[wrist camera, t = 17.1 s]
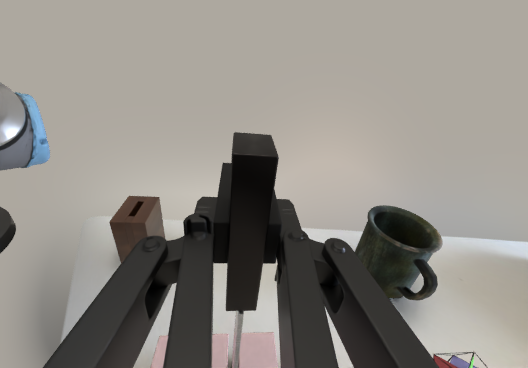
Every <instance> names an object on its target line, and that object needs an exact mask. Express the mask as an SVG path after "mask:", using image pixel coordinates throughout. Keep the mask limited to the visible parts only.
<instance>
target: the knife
mask: <svg viewBox="0 0 528 368" xmlns="http://www.w3.org/2000/svg"><path fill="white" fill-rule="evenodd" d="M278 159H279V158H278V154H277V151H276V148H275V145H274V142H273V139H272V137H271V135H263V134H250V133H249V134H248V133H234V136H233V148H232V164H231V189H230V214H229V239H228V264H227V289H226V311H236V316H235V329H234V342H233V355H232V368H238V362H239V352H240V343H241V333H242V324H243V314H244V313H243V311H252V310H256V307H257V300H258V293H259V287H260V280H261V273H262V266H263V260H264V253H265V246H266V240H267V233H268V226H269V219H270V213H271V206H272V199H273V192H274V186H275V179H276V172H277V165H278Z"/></svg>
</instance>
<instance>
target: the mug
mask: <svg viewBox="0 0 528 368" xmlns="http://www.w3.org/2000/svg"><path fill="white" fill-rule="evenodd" d="M441 247H442V238H441V236H440V234H439V233H438V231H437V230H436V229H435V228H434V227H433V226H432V225H431V224H430V223H428V222H427V221H426V220H424V219H423V218H421V217H419V216H418V215H416V214H414V213H412V212H409V211H407V210H404V209H401V208H398V207H393V206H376V207H373V208H372V209H371V210H370V211H369V212H368V222H367V224H366V227H365V229H364V231H363V234H362V236H361V239H360V241H359V243H358V246H357V248H356V251H355V254H356V255H357V257H358V258H359V259H360V261H361V262H362V263H363V265H364V266H365V267H366V269H367V270H368V271H369V273H370V274H371V275H372V277H373V278H374V280H375V281H376V282H377V284H378V285H379V286H380V288H381V289H382V290H383V292H384V293H385V294H386V296H387V297H388V298H399V297H402V296H404V297H406V298H407V299H410V300H422V299H425V298H428V297H430V296H431V295H432V294H433V293H434V292H435V290H436V288H437V285H438V284H437V276H436V275H435V273H434V271H433V270H432V268H431V267H430V266H429V265H428V263H427V262H428V260H429V259H430V257H431V255H432V254H433V253H434V252H436V251H438V250H440V248H441ZM420 272H421V274H422V276H423V278H424V286H423V287H422V289H421V290H420V291H419V292H418V293H414V292H412V291H411V290H410V288H411V286H412V285H413V283H414V281H415V280H416V278H417V277H418V275H419V274H420Z"/></svg>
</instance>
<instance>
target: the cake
mask: <svg viewBox="0 0 528 368" xmlns="http://www.w3.org/2000/svg"><path fill="white" fill-rule="evenodd" d="M228 337H229V334H212V368H227V360H228ZM167 340H168V336H159V339H158V343H157V347H156V350H155V354H154V357H153V361H152V364H151V368H163V364H164V358H165V352H166V346H167Z"/></svg>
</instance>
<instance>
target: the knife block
mask: <svg viewBox="0 0 528 368" xmlns="http://www.w3.org/2000/svg"><path fill="white" fill-rule="evenodd" d="M109 223H110V226H111V229H112V233H113V236H114V240H115V243H116V247H117V250H118V254H119V257H120V261H121V264H122V262H123V261H124V260H125V258H126V257H127V256H128V254H129V253H130V252H131V250H132V249H133V248H134V246H135V245H136V244H137V243H138V242H139V241H140V240H141V239H143V238H145V237H149V236H161V237H163V238H165V234H164V227H163V220H162V213H161V206H160V199H159V197H144V196H142V197H141V196H129V197H128V198H127V199H126V201H125V202H124V203H123V205H122V206H121V207H120V209H119V210H118V211H117V213H116V214H115V215H114V217H113V218H112V219H111V220H110V222H109Z"/></svg>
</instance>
